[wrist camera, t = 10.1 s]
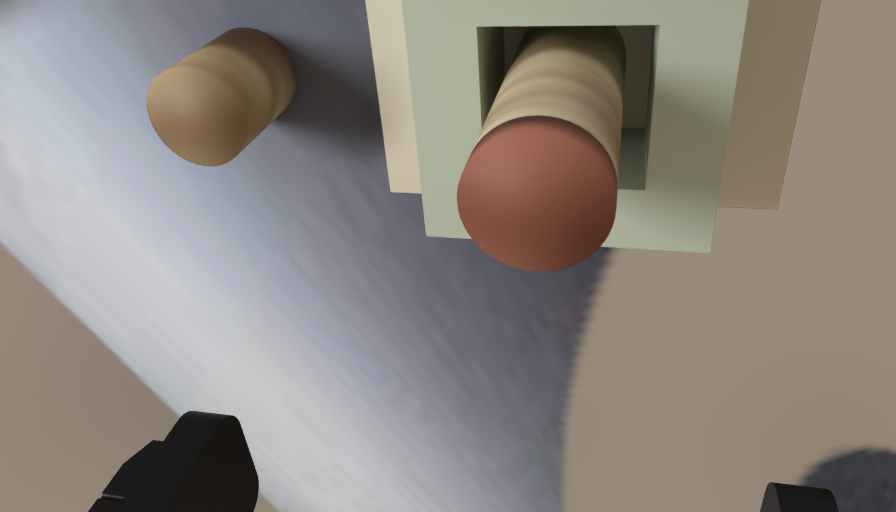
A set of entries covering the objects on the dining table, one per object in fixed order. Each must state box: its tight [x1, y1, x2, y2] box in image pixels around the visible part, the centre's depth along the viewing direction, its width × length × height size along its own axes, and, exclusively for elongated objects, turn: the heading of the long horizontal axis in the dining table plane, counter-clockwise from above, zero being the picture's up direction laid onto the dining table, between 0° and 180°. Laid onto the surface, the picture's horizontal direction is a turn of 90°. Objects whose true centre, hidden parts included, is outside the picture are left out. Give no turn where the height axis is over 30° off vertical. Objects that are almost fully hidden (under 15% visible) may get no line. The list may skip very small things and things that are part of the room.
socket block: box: [365, 0, 821, 253], centre depth 25 cm, size 12×16×6 cm
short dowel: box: [147, 28, 296, 166], centre depth 29 cm, size 4×4×5 cm
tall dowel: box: [457, 25, 626, 271], centre depth 22 cm, size 4×4×11 cm
